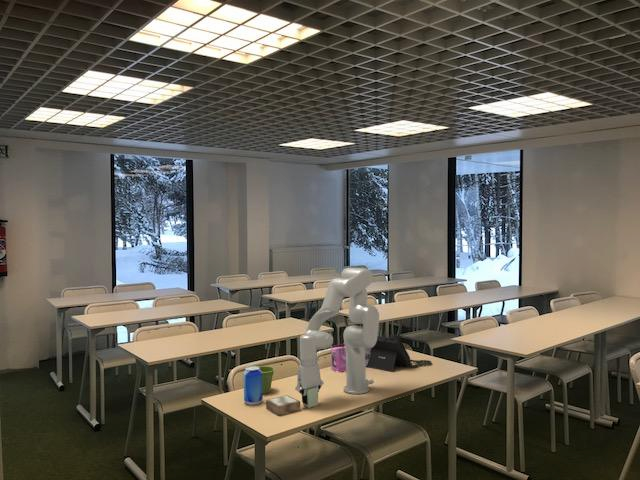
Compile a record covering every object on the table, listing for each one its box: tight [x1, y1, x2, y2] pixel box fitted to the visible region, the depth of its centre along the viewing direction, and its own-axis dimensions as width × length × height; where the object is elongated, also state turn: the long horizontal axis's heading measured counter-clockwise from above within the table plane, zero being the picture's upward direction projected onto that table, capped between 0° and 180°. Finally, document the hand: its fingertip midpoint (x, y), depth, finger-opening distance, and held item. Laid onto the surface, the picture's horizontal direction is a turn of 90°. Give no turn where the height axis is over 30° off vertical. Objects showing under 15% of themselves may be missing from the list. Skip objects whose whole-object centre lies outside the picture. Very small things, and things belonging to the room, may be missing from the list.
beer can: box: [243, 365, 264, 406], centre depth 237 cm, size 8×8×16 cm
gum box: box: [330, 343, 371, 373], centre depth 291 cm, size 24×8×14 cm, turn 122°
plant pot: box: [258, 365, 276, 395], centre depth 252 cm, size 12×12×11 cm
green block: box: [302, 387, 319, 409], centre depth 231 cm, size 5×5×8 cm
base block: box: [265, 394, 301, 417], centre depth 226 cm, size 11×11×4 cm
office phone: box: [367, 333, 432, 373], centre depth 294 cm, size 29×28×20 cm
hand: (310, 401), depth 231 cm, fingers closed on green block, 5 cm apart
